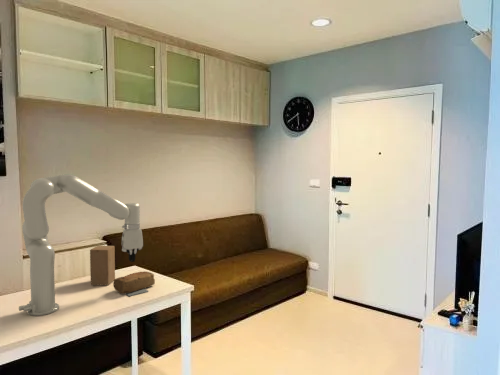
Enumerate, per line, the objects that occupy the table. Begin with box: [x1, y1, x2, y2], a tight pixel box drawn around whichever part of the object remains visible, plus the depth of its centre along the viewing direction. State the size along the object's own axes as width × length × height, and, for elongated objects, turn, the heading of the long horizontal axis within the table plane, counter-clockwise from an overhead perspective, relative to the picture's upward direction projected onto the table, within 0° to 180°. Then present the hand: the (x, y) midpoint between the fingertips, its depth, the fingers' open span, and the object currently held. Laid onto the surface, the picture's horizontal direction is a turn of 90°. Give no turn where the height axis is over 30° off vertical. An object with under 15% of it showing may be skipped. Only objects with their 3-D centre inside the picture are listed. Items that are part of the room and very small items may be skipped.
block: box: [112, 271, 156, 295], centre depth 196 cm, size 11×8×20 cm
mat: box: [124, 288, 149, 298], centre depth 193 cm, size 10×14×1 cm
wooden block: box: [89, 245, 116, 286], centre depth 205 cm, size 10×10×20 cm
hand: (132, 261), depth 192 cm, fingers closed
